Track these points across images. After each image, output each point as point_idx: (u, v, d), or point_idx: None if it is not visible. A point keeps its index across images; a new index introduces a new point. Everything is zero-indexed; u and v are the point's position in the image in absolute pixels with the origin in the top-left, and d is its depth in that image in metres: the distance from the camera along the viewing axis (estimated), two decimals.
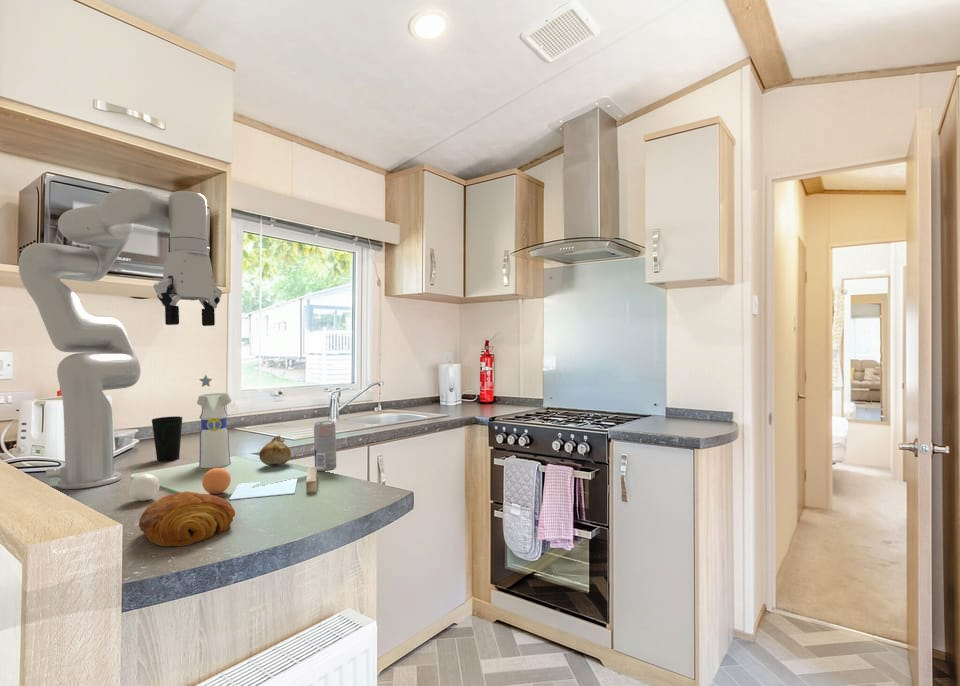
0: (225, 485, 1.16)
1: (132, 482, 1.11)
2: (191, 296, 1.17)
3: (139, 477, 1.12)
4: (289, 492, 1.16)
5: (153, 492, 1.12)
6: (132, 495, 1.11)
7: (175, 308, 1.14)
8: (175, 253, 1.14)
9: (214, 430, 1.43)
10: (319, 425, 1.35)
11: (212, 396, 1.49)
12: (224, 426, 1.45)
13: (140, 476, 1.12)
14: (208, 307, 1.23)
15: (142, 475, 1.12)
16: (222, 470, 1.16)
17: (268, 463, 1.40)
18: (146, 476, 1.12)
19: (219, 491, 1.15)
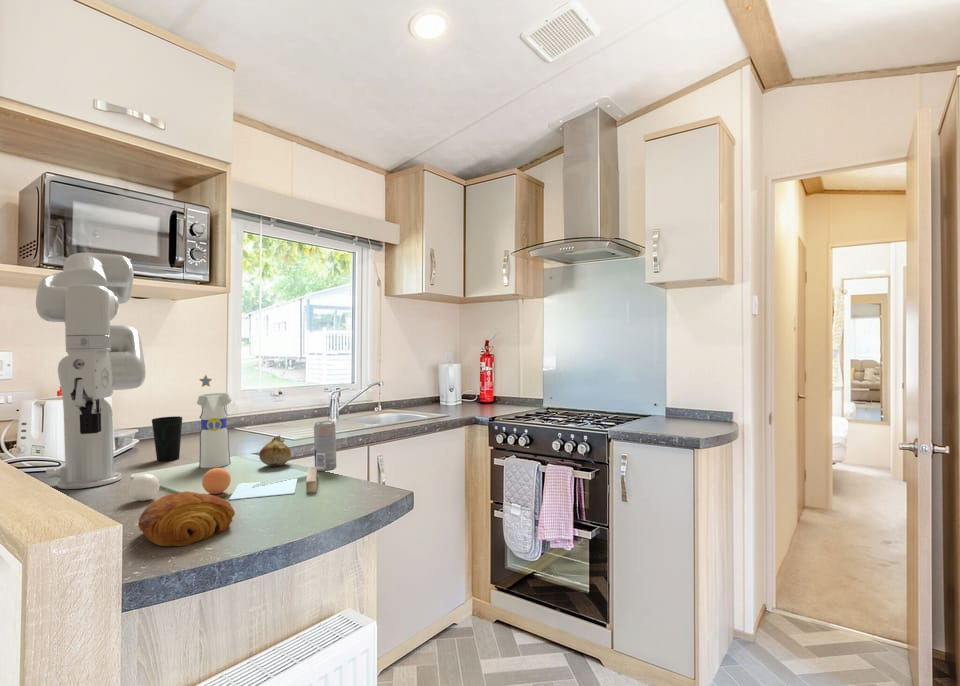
0: (225, 485, 1.16)
1: (132, 482, 1.11)
2: None
3: (139, 477, 1.12)
4: (289, 492, 1.16)
5: (153, 492, 1.12)
6: (132, 495, 1.11)
7: None
8: None
9: (214, 430, 1.43)
10: (319, 425, 1.35)
11: (212, 396, 1.49)
12: (224, 426, 1.45)
13: (140, 476, 1.12)
14: None
15: (142, 475, 1.12)
16: (222, 470, 1.16)
17: (268, 463, 1.40)
18: (146, 476, 1.12)
19: (219, 491, 1.15)
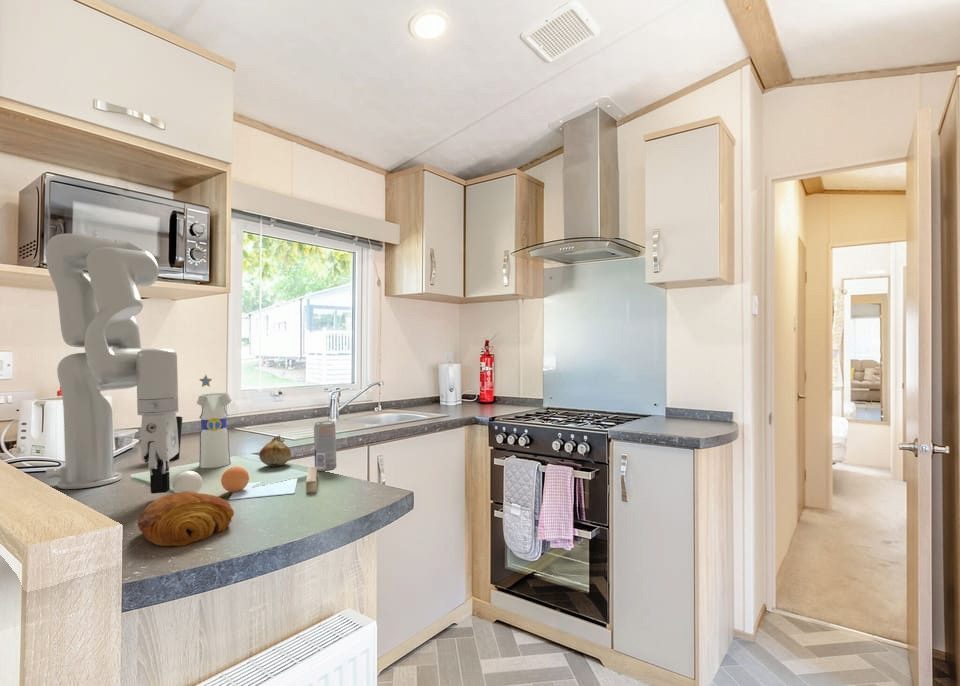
0: (232, 491, 1.16)
1: (196, 489, 1.14)
2: None
3: None
4: (289, 492, 1.16)
5: (173, 487, 1.13)
6: (190, 480, 1.13)
7: None
8: None
9: (214, 430, 1.43)
10: (319, 425, 1.35)
11: (212, 396, 1.49)
12: (224, 426, 1.45)
13: None
14: None
15: None
16: (247, 482, 1.18)
17: (268, 463, 1.40)
18: None
19: (225, 487, 1.16)
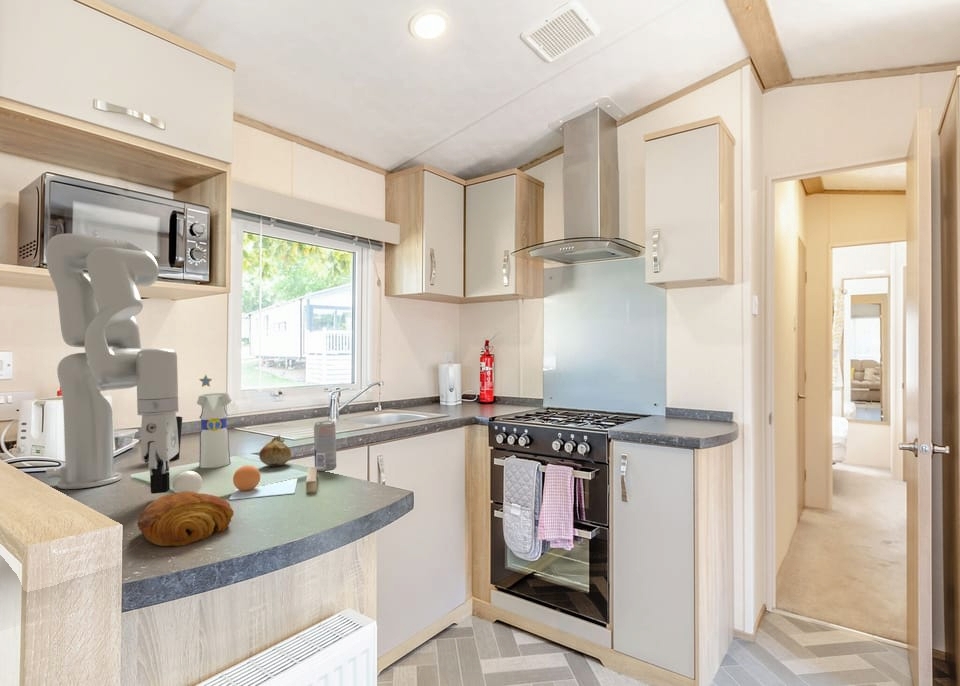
0: (236, 486, 1.16)
1: (196, 489, 1.14)
2: None
3: None
4: (289, 492, 1.16)
5: (173, 487, 1.13)
6: (190, 480, 1.13)
7: None
8: None
9: (214, 430, 1.43)
10: (319, 425, 1.35)
11: (212, 396, 1.49)
12: (224, 426, 1.45)
13: None
14: None
15: None
16: (251, 489, 1.18)
17: (268, 463, 1.40)
18: None
19: (235, 479, 1.16)
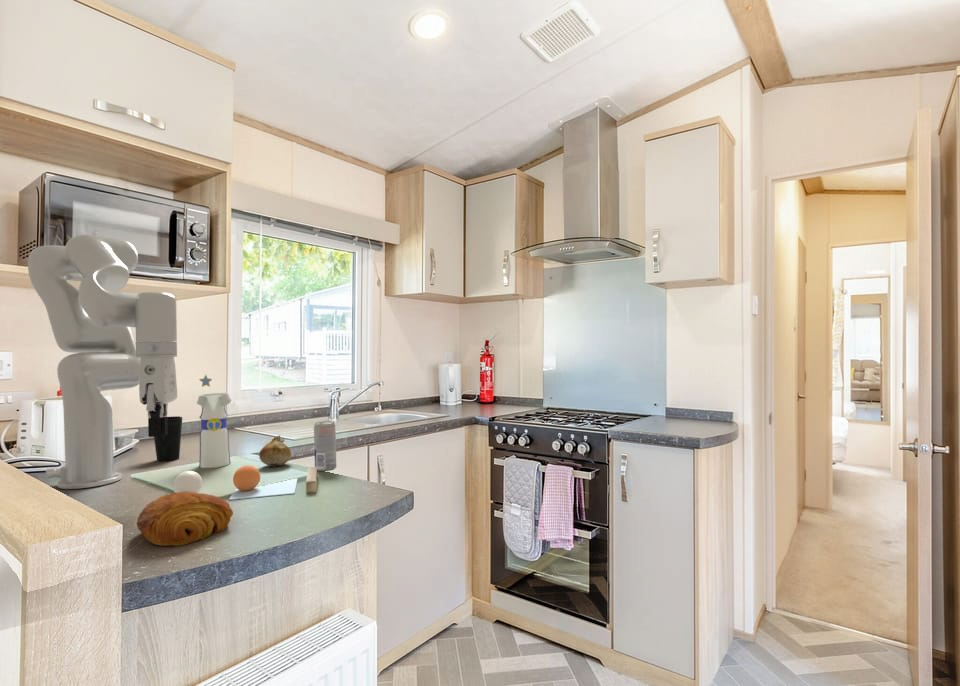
0: (236, 486, 1.16)
1: (196, 489, 1.14)
2: None
3: None
4: (289, 492, 1.16)
5: (173, 487, 1.13)
6: (190, 480, 1.13)
7: None
8: None
9: (214, 430, 1.43)
10: (319, 425, 1.35)
11: (212, 396, 1.49)
12: (224, 426, 1.45)
13: None
14: None
15: None
16: (251, 489, 1.18)
17: (268, 463, 1.40)
18: None
19: (235, 479, 1.16)
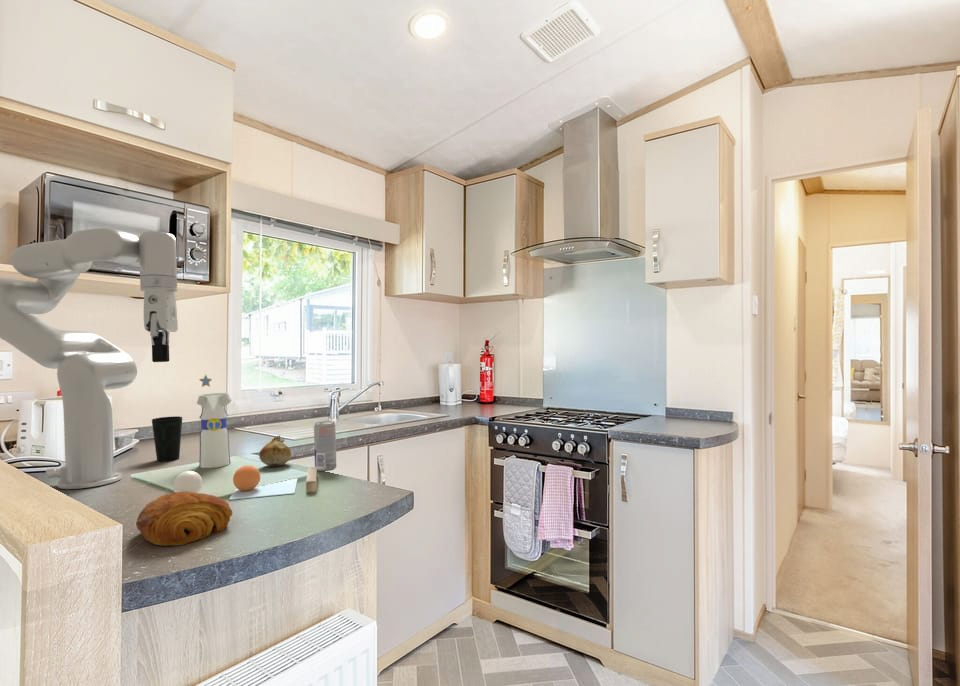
0: (236, 486, 1.16)
1: (196, 489, 1.14)
2: None
3: None
4: (289, 492, 1.16)
5: (173, 487, 1.13)
6: (190, 480, 1.13)
7: None
8: None
9: (214, 430, 1.43)
10: (319, 425, 1.35)
11: (212, 396, 1.49)
12: (224, 426, 1.45)
13: None
14: None
15: None
16: (251, 489, 1.18)
17: (268, 463, 1.40)
18: None
19: (235, 479, 1.16)
